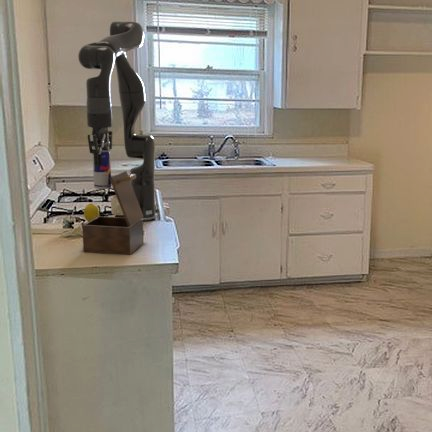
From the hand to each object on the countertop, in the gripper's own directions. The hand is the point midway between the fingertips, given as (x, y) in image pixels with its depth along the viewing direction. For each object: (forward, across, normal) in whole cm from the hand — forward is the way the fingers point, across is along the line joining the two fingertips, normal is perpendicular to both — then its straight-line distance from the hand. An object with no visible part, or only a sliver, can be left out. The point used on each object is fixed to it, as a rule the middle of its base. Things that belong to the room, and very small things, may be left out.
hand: (101, 164), depth 185 cm
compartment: (+28, 0, +3) cm, 28 cm away
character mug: (+28, -20, -2) cm, 34 cm away
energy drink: (+8, 0, 0) cm, 8 cm away
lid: (+11, 0, +8) cm, 13 cm away
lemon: (+28, -28, -17) cm, 43 cm away
